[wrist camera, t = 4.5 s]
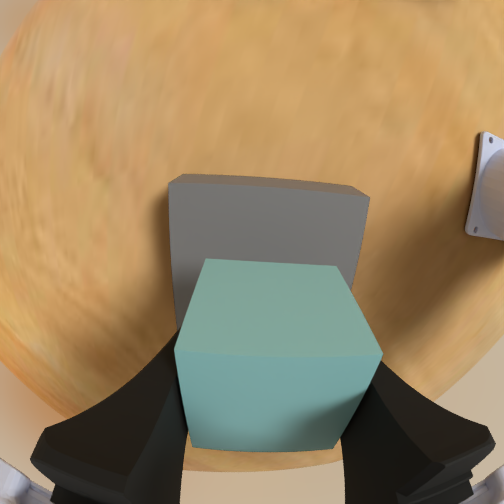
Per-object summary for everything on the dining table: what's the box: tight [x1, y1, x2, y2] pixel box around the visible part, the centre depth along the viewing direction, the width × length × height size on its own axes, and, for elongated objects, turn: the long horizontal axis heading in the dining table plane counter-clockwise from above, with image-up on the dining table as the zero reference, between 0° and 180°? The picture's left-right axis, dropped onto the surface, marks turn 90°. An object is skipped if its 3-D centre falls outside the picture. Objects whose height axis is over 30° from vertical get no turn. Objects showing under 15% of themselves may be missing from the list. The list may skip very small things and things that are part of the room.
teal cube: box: [174, 258, 383, 452], centre depth 9 cm, size 5×5×5 cm
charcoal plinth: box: [168, 174, 370, 331], centre depth 17 cm, size 10×10×3 cm
